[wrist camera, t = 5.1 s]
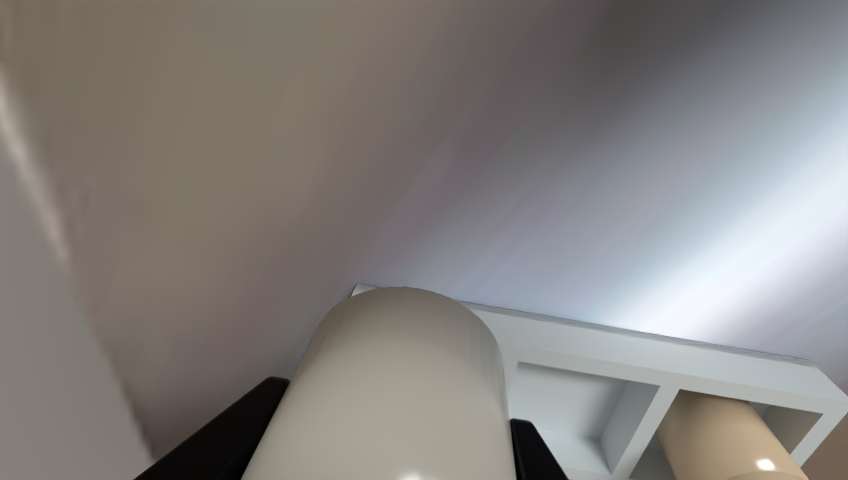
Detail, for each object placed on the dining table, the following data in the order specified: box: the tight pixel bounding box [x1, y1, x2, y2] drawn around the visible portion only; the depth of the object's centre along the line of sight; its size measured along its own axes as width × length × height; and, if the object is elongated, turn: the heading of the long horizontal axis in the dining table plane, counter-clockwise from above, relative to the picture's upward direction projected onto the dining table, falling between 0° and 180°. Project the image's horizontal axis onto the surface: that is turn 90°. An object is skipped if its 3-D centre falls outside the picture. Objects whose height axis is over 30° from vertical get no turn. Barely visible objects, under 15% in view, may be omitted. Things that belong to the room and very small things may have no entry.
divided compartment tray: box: [351, 284, 848, 480], centre depth 20 cm, size 21×8×2 cm, turn 81°
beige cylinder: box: [655, 389, 809, 480], centre depth 17 cm, size 4×4×7 cm
